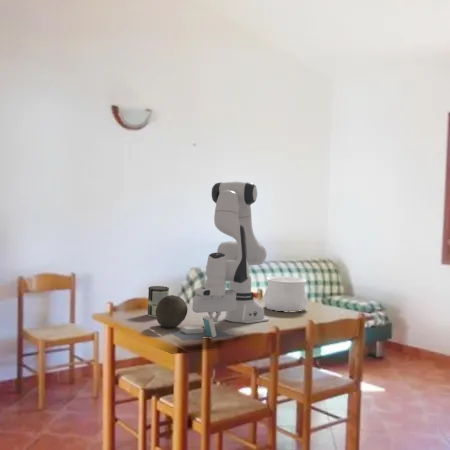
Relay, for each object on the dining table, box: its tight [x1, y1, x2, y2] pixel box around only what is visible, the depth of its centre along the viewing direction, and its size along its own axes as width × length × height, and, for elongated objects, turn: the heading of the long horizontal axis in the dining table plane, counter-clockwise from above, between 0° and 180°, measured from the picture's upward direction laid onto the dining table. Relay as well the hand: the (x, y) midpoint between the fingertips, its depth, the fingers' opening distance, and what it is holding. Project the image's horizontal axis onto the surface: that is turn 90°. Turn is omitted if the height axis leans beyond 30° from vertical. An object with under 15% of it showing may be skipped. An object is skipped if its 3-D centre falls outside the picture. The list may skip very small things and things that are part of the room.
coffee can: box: [147, 285, 170, 318], centre depth 320 cm, size 10×10×14 cm
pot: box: [263, 276, 308, 312], centre depth 353 cm, size 26×24×17 cm
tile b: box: [202, 315, 216, 337], centre depth 276 cm, size 2×6×8 cm, turn 27°
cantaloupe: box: [155, 294, 189, 329], centre depth 292 cm, size 14×14×15 cm
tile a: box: [180, 325, 204, 334], centre depth 283 cm, size 2×6×8 cm
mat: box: [168, 327, 234, 341], centre depth 280 cm, size 24×17×1 cm
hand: (214, 321), depth 277 cm, fingers closed
